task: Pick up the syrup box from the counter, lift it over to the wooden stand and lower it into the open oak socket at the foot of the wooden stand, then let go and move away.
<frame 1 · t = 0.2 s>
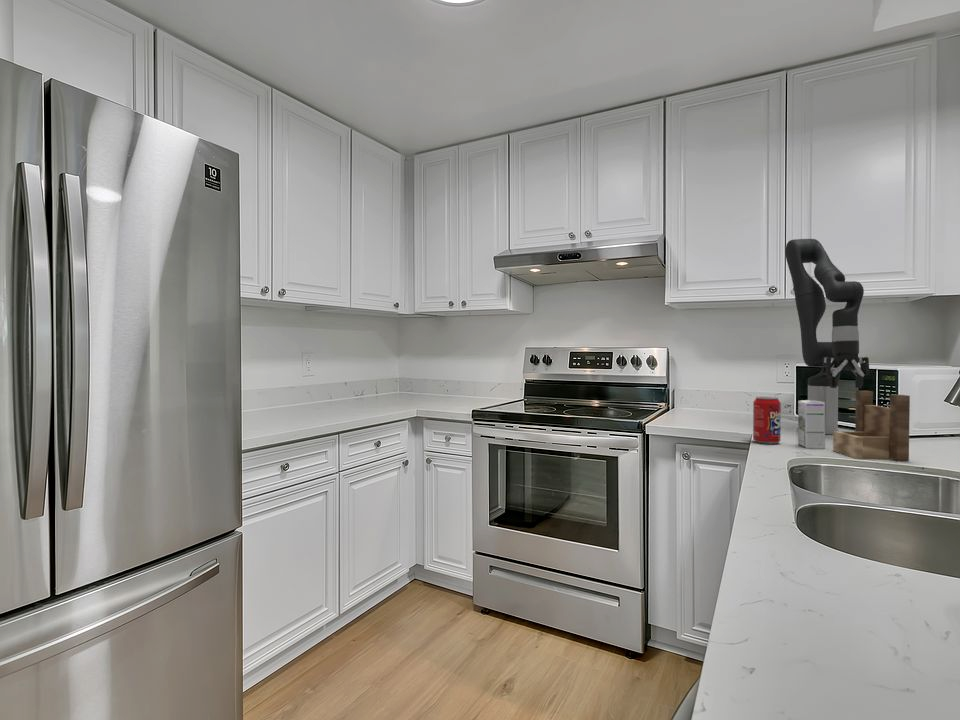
hand: (846, 387, 173), 18 cm above the countertop, tool pointing down, fingers open, 8 cm apart
soda can: (766, 443, 168), on the countertop
wooden stand: (857, 454, 148), on the countertop
syrup box: (811, 447, 160), on the countertop
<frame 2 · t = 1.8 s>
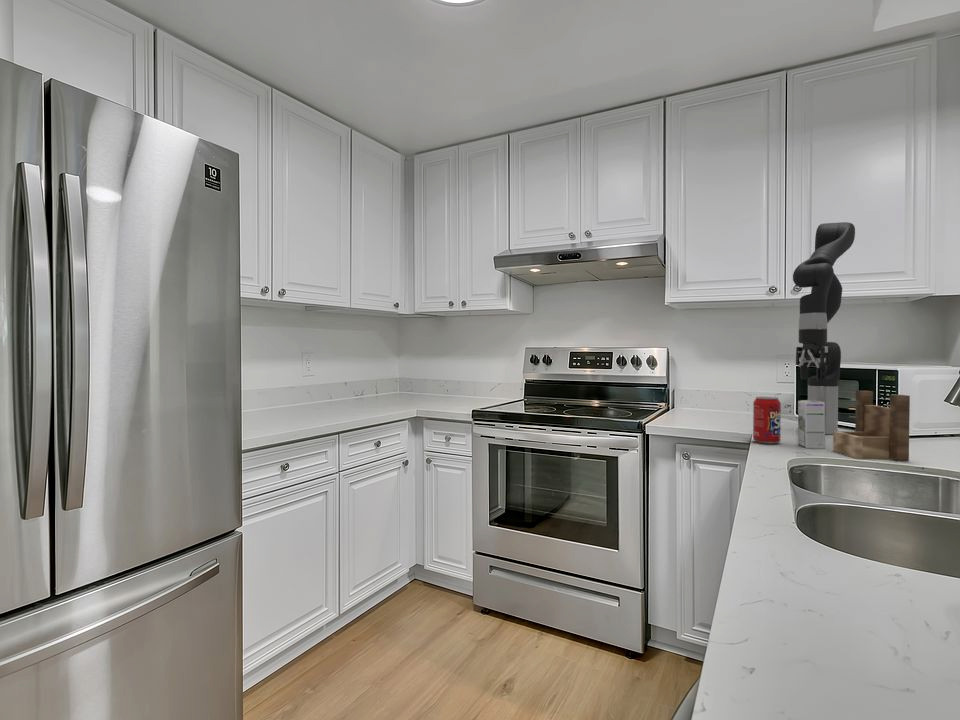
hand: (812, 379, 160), 21 cm above the countertop, tool pointing down, fingers open, 8 cm apart
nothing on the countertop moved.
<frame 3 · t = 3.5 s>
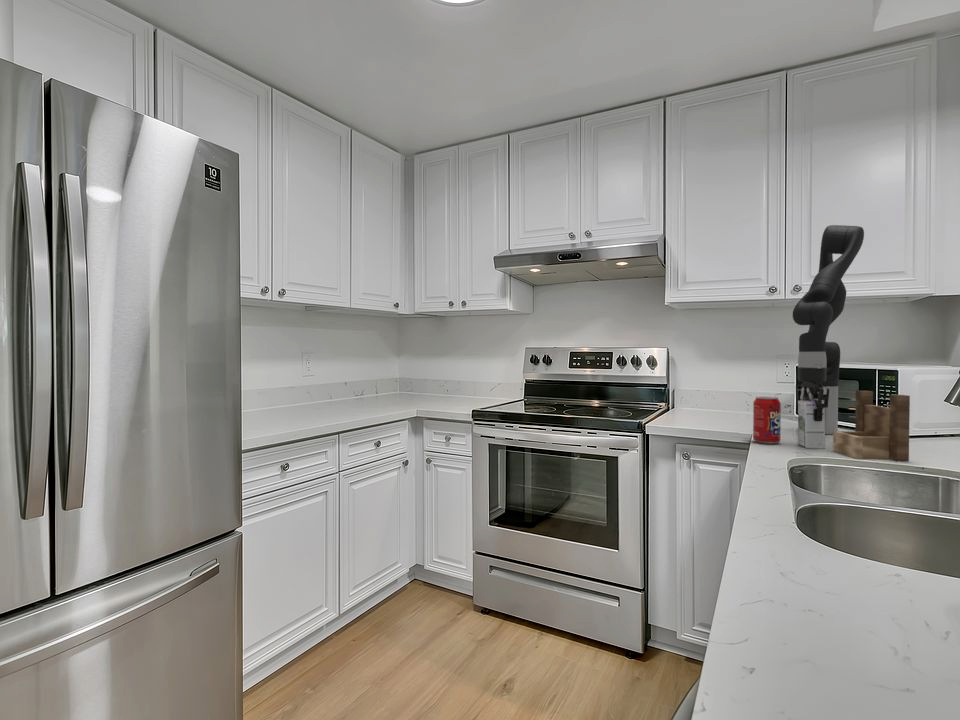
hand: (811, 419, 160), 9 cm above the countertop, tool pointing down, fingers closed on syrup box, 6 cm apart
syrup box: (811, 447, 160), on the countertop, touching gripper
everything else where it was.
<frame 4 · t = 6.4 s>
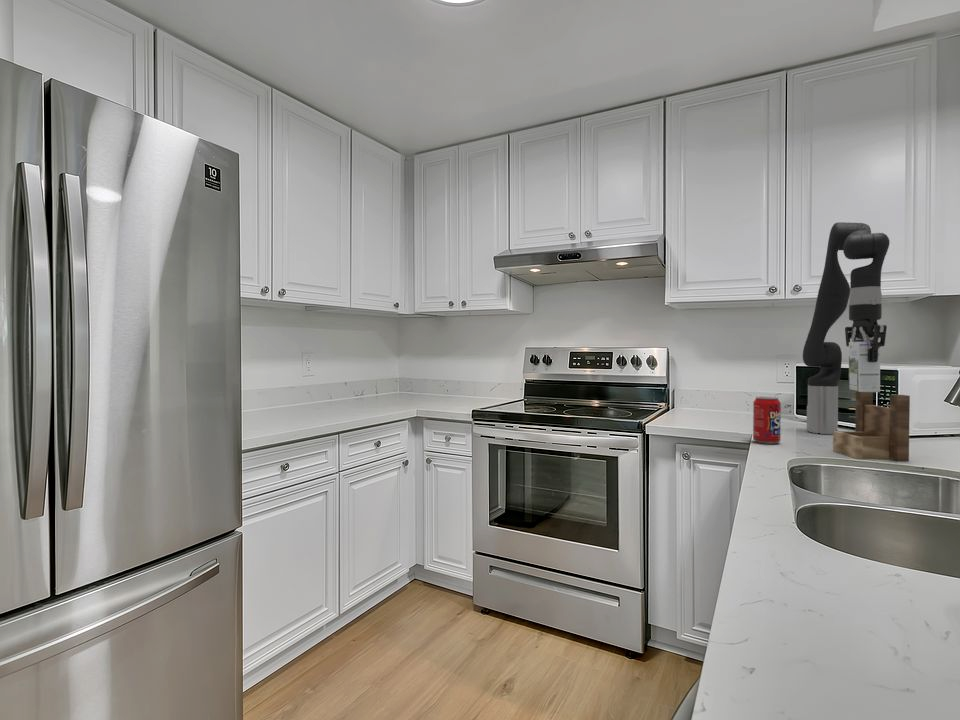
hand: (864, 361, 147), 27 cm above the countertop, tool pointing down, fingers closed on syrup box, 6 cm apart
syrup box: (863, 392, 148), point 18 cm above the countertop, touching gripper
everything else where it was.
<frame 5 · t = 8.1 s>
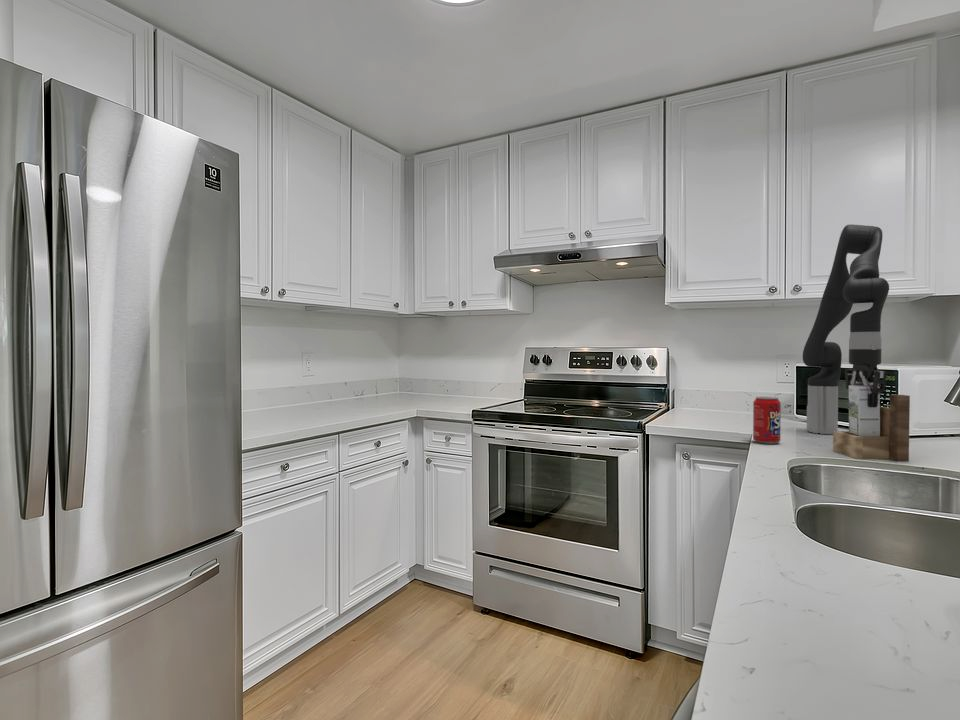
hand: (864, 405, 148), 14 cm above the countertop, tool pointing down, fingers closed on syrup box, 6 cm apart
syrup box: (863, 436, 148), point 5 cm above the countertop, touching gripper
everything else where it was.
when the fingers open (10 cm above the countertop, at t = 9.4 s): syrup box drops 2 cm, resting in wooden stand.
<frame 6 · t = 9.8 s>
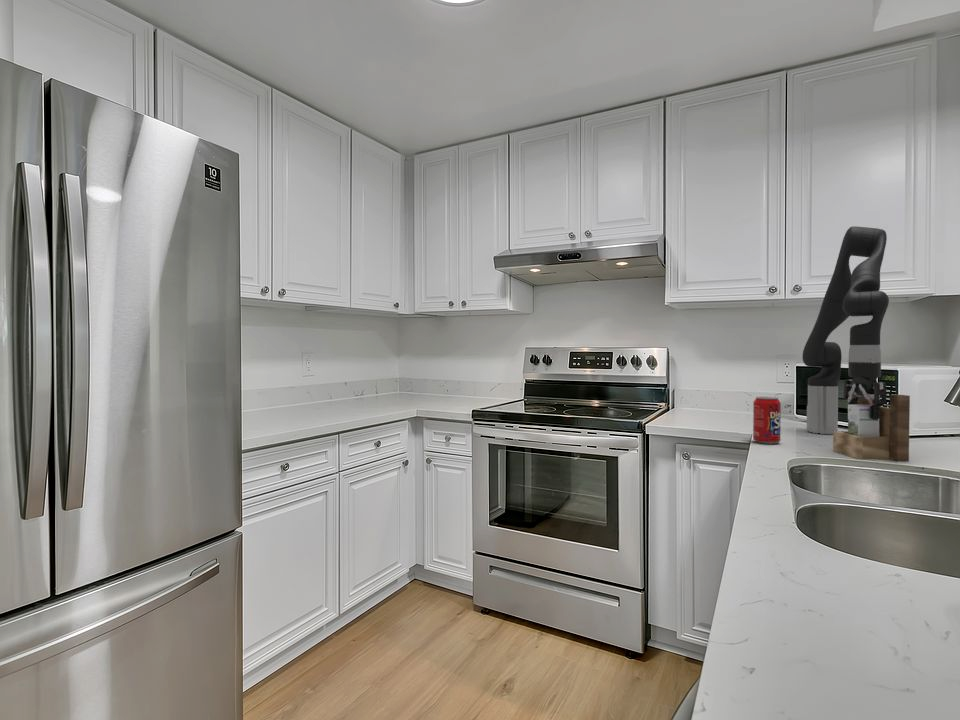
hand: (863, 416, 148), 11 cm above the countertop, tool pointing down, fingers open, 8 cm apart
syrup box: (863, 455, 148), resting in wooden stand
everything else where it was.
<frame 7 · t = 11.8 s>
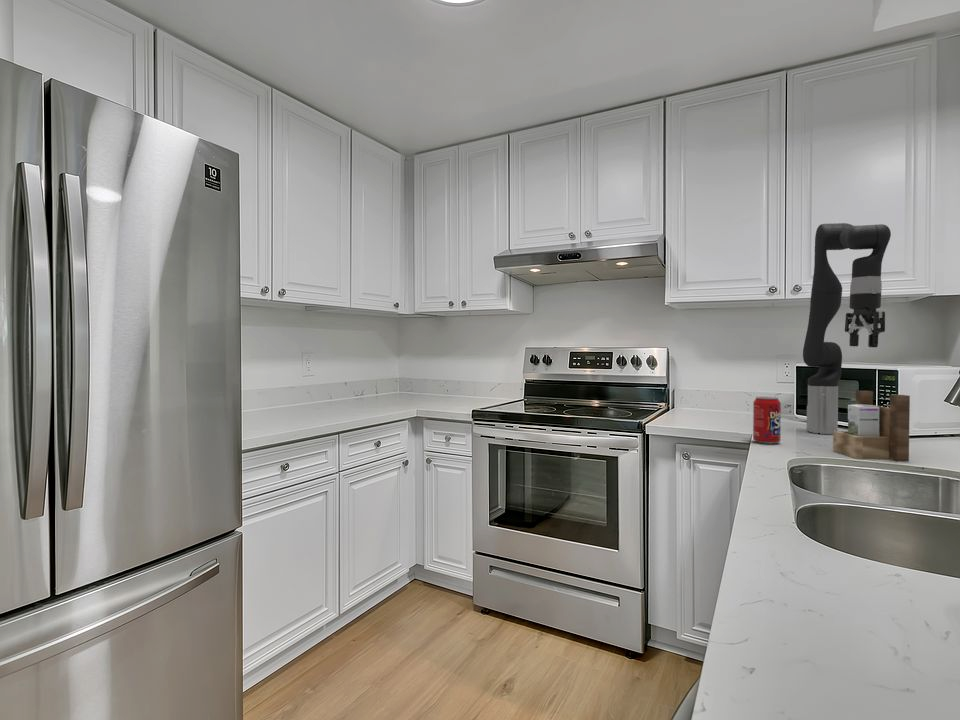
hand: (863, 346, 154), 31 cm above the countertop, tool pointing down, fingers open, 8 cm apart
nothing on the countertop moved.
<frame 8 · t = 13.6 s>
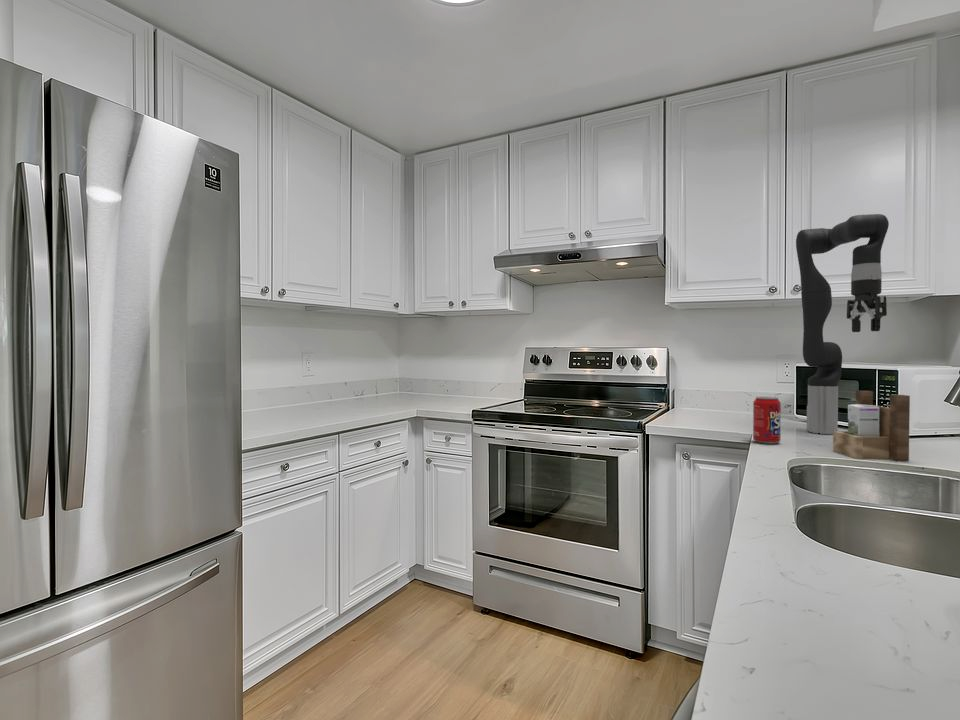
hand: (865, 331, 159), 36 cm above the countertop, tool pointing down, fingers open, 8 cm apart
nothing on the countertop moved.
at the end: syrup box 0.1 cm from the target spot on the wooden stand, point 0.0 cm above the wooden stand's base; syrup box tilted 0°; the gripper is holding nothing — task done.
